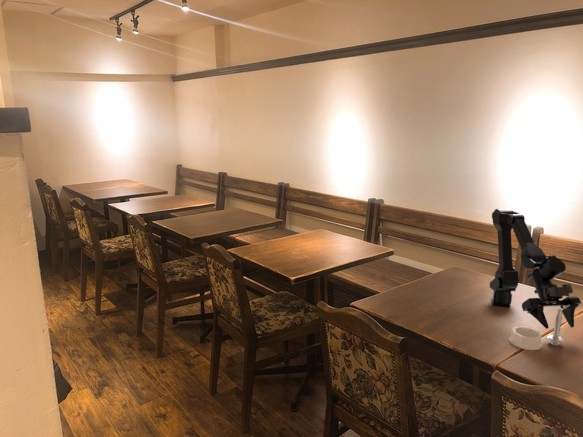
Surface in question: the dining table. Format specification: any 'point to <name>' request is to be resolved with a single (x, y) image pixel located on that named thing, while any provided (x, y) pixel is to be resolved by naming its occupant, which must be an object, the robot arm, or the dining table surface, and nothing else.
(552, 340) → the screw
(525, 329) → the white pet bowl
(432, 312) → the dining table surface
